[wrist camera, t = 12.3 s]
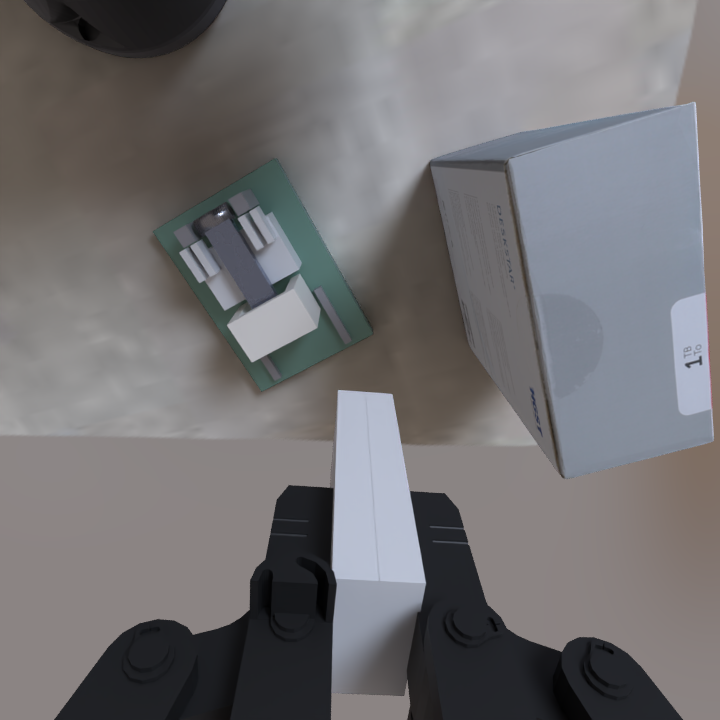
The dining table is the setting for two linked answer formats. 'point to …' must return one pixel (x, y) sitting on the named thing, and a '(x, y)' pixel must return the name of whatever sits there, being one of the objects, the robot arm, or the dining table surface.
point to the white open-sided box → (276, 320)
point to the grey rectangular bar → (236, 254)
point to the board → (309, 272)
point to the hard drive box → (587, 282)
